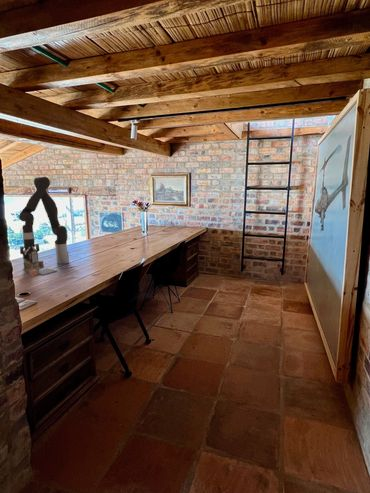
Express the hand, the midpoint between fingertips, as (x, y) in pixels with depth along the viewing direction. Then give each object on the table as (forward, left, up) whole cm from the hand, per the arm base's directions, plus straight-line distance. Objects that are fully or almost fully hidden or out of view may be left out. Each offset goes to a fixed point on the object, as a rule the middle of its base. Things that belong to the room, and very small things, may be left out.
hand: (30, 258), depth 222 cm
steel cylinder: (-1, -9, -10) cm, 14 cm away
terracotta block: (+7, +13, -10) cm, 18 cm away
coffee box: (0, 0, -10) cm, 10 cm away
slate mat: (-2, +14, -10) cm, 17 cm away
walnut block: (-9, -5, -10) cm, 15 cm away
